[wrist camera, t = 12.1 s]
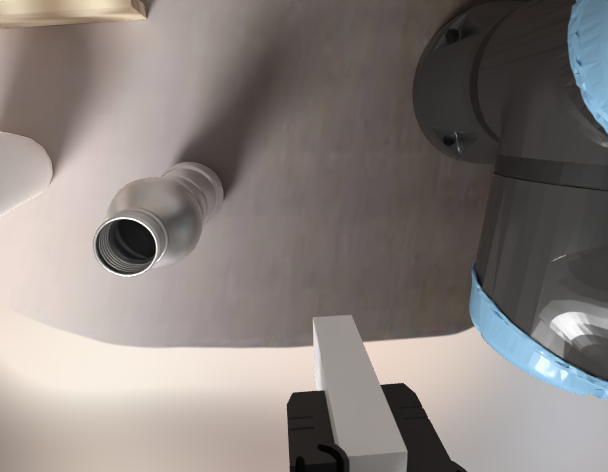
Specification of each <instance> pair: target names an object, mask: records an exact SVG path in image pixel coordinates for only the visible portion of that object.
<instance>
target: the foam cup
mask: <svg viewBox="0 0 608 472" xmlns="http://www.w3.org/2000/svg"><path fill="white" fill-rule="evenodd" d="M52 176H53V170H52V162H51V159H50V158H49V156H48V154H47V153H46V151H45V150H44V148H43V147H42V146H41V145H39V144H38V143H36V142H35V141H34V140H32V139H31V138H29V137H25V136H21V135H17V134H12V133H7V132H1V131H0V216H2V215H4V214H6V213H7V212H9V211H11V210H13V209H14V208H16V207H18V206H20V205H22V204H23V203H25V202H27V201H29V200H31V199H32V198H34V197H36V196H37V195H39V194H40V193H41V192H43V191H44V190H45V189H46V188H48V187H49V184H50V182H51V179H52Z"/></svg>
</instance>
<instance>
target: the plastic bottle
mask: <svg viewBox="0 0 608 472" xmlns="http://www.w3.org/2000/svg"><path fill="white" fill-rule="evenodd" d="M223 197H224V195H223V188H222V184H221V182H220V179H219V177H218V176H217V175H216V174H215V172H213V171H212V170H211V169H210V168H208V167H206V166H205V165H202V164H200V163H196V162H182V163H178V164H176V165H174V166H172V167H170V168H169V169H168V170H166V171H165V172H164V174H163V175H162V176H161V177H148V178H143V179H139V180H135V181H133V182H131V183H129V184H127V185H126V186H124V187H123V188H122V189H120V190H119V192H118V193H117V194H116V195H115V196H114V198H113V199H112V201H111V203H110V205H109V207H108V210H107V214H106V218H105V222H104V223H103V224H102V225H101V226H100V227H99V229H98V230H97V232H96V234H95V236H94V240H93V250H94V254H95V256H96V259H97V260H98V262H99V263H100V264H101V265H102V266H103V268H105V269H106V270H107V271H109V272H111V273H113V274H115V275H119V276H125V277H131V276H136V275H140V274H142V273H144V272H146V271H147V270H149V269H150V268H161V267H165V266H169V265H172V264H175V263H177V262H179V261H181V260H182V259H184V258H185V257H186V256H188V255H189V254H190V253H191V251H192V250H193V249H194V248H195V246H196V244H197V243H198V240H199V238H200V235H201V232H202V227H203V225H204V224H206V223H208V222H209V221H210V220H212V219H213V218H214V217H215V216H216V215H217V214H218V212H219V210H220V209H221V206H222V203H223Z"/></svg>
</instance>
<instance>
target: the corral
mask: <svg viewBox="0 0 608 472" xmlns="http://www.w3.org/2000/svg"><path fill="white" fill-rule="evenodd" d="M139 19H147V18H146V12H145V6H144V4H143V3H142V2H141V1H140V0H0V29H4V28H19V27H34V26H49V25H64V24H79V23H94V22H109V21H124V20H139Z"/></svg>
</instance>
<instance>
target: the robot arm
mask: <svg viewBox="0 0 608 472" xmlns="http://www.w3.org/2000/svg"><path fill="white" fill-rule="evenodd" d="M413 104H414V110H415V114H416V118H417V121H418V123H419V126H420V128H421V130H422V131H423V133H424V135H425V136H426V138H427V139H428V140H429V141H430V142H431V144H432V145H433V146H435V147H436V148H437V149H438V150H439V151H441V152H442V153H444V154H446V155H447V156H450V157H452V158H454V159H457V160H461V161H466V162H472V163H480V164H486V163H496V164H495V169H494V172H493V176H492V181H491V186H490V192H489V197H488V202H487V207H486V212H485V217H484V223H483V228H482V233H481V238H480V243H479V248H478V253H477V258H476V260H475V261H474V263H473V265H472V271H471V272H472V279H473V281H472V289H471V297H470V304H469V309H470V315H471V319H472V321H473V323H474V325H475V327H476V328H477V330H478V331H479V332H480V333H481V336H482V337H483V339H484V340H485V341H486V342H487V343H488V344H489V345H490V346H491V347H492V348H493V349H494V350H495V351H496V352H497V353H498V354H500V355H501V356H502V357H504V358H505V359H506V360H507V361H509V362H510V363H512V364H513V365H515V366H516V367H518V368H520V369H521V370H523V371H525V372H526V373H528V374H530V375H532V376H534V377H535V378H537V379H539V380H541V381H544V382H546V383H548V384H550V385H553V386H555V387H557V388H560V389H563V390H566V391H569V392H572V393H575V394H579V395H583V396H586V395H588V394H589V393H591V394H593V395H594V396H596V397H598V398H600V399H608V0H531V1H529V2H522V1H511V0H500V1H493V2H488V3H484V4H481V5H478V6H475V7H473V8H471V9H469V10H467V11H465V12H464V13H462V14H460V15H459V16H457V17H455V18H454V19H452V20H451V21H449V22H448V23H447V24H446V25H444V26H443V27H442V28H441V29H440V30H439V31H438V32H437V33H436V34H435V36H434V37H433V38H432V39H431V41H430V42H429V44H428V45H427V47H426V48H425V50H424V52H423V54H422V56H421V58H420V61H419V63H418V66H417V69H416V73H415V77H414V84H413ZM313 337H314V374H315V384H316V389H317V391H309V392H295V393H293V394H292V395H291V397H290V399H289V402H288V403H287V417H288V437H289V438H288V439H289V459H290V472H467V471H466V470H465V469H464V468H462V467H461V466H459V465H458V464H457V463H455V462H453V461H451V459H450V457H449V456H448V454H447V452H446V450H445V448H444V446H443V445H442V443H441V441H440V439H439V437H438V435H437V433H436V431H435V429H434V428H433V425H432V424H431V422H430V420H429V419H428V416H427V414H426V412H425V410H424V409H423V408H422V405H421V403H420V401H419V399H418V397H417V395H416V394H415V393H414V392H413V391H412V390H411V389H410V388H408V387H407V386H406V385H405V384H404V383H398V384H386V385H380V383H379V381H378V378H377V376H376V374H375V371H374V369H373V367H372V364H371V361H370V359H369V357H368V354H367V352H366V349H365V347H364V344H363V342H362V340H361V337H360V335H359V332H358V330H357V327H356V325H355V323H354V320H353V318H352V315H343V316H328V317H313Z"/></svg>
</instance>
